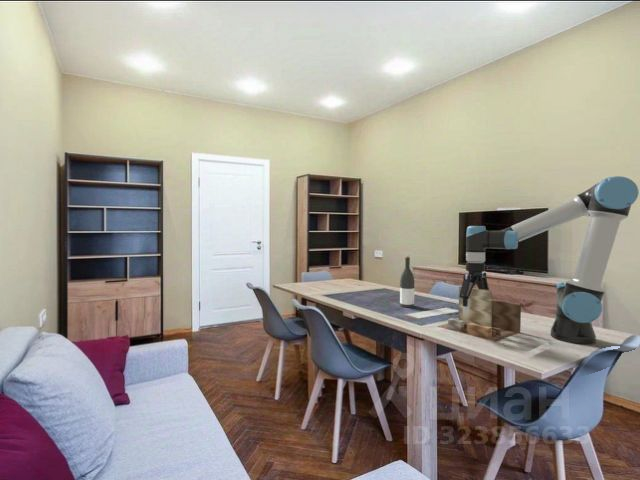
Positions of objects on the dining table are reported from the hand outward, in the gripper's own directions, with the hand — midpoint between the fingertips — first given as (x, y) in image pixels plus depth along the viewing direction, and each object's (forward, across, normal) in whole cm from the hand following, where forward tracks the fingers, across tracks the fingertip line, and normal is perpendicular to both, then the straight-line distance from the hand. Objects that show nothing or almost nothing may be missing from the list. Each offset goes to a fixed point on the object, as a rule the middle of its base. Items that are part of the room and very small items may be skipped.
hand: (474, 311), depth 148 cm
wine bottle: (+10, -20, -53) cm, 57 cm away
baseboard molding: (+10, -15, -33) cm, 38 cm away
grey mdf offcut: (+8, +5, -6) cm, 11 cm away
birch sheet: (+8, 0, 0) cm, 8 cm away
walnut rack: (+9, -2, 0) cm, 10 cm away
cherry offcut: (+8, +5, +5) cm, 11 cm away
